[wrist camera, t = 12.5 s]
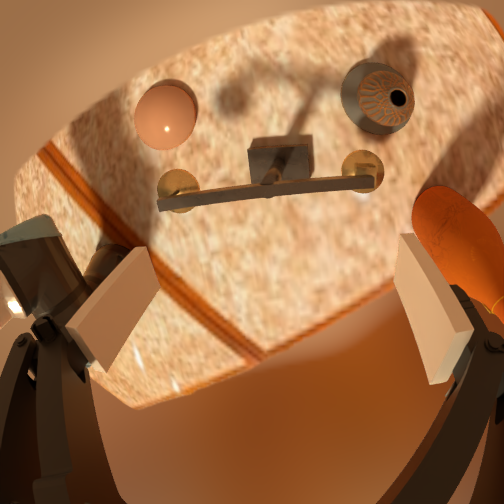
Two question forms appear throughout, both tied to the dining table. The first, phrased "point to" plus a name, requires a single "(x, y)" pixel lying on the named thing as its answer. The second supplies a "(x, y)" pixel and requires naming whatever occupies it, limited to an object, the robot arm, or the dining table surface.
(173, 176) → the balance
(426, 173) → the dining table surface
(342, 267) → the dining table surface
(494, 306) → the wine bottle
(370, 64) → the dish
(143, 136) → the dish
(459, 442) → the robot arm
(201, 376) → the dining table surface
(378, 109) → the vase
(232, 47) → the dining table surface
